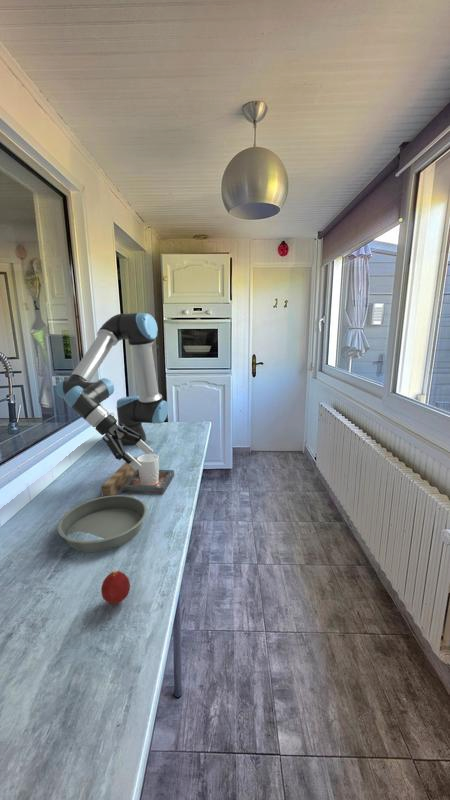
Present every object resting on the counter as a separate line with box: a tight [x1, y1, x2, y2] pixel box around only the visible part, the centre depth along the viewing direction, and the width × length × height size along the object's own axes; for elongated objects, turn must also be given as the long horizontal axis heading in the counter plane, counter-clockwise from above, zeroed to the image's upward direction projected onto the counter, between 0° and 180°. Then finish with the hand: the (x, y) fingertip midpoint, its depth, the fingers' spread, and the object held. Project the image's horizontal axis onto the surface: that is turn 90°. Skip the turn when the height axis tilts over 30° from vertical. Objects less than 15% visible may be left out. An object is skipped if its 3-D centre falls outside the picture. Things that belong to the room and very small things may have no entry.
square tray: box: [122, 469, 175, 495], centre depth 127 cm, size 15×15×2 cm
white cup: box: [136, 453, 160, 486], centre depth 126 cm, size 8×8×10 cm
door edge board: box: [101, 457, 138, 497], centre depth 128 cm, size 26×3×5 cm, turn 174°
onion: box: [100, 570, 131, 605], centre depth 72 cm, size 6×6×8 cm
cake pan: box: [57, 494, 148, 553], centre depth 99 cm, size 25×25×4 cm
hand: (145, 460), depth 125 cm, fingers open, 13 cm apart
